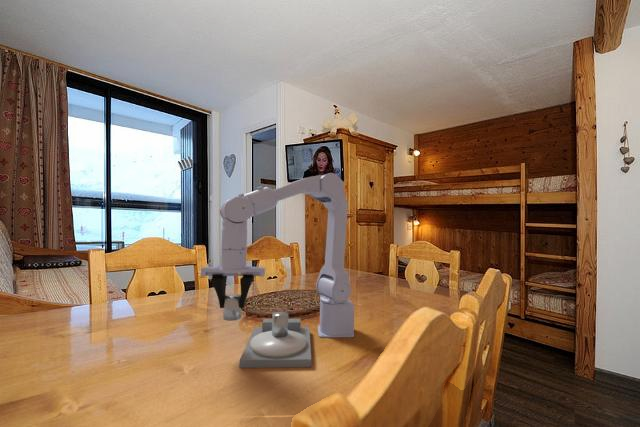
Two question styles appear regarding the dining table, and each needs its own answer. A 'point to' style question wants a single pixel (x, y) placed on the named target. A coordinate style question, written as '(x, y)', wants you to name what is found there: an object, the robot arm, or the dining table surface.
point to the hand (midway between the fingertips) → (232, 306)
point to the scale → (277, 347)
